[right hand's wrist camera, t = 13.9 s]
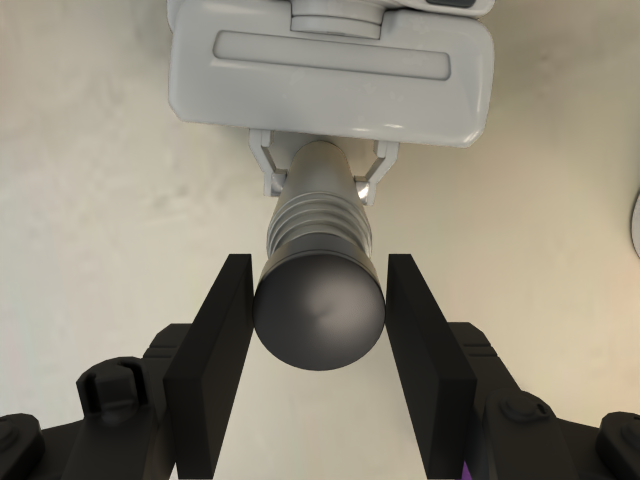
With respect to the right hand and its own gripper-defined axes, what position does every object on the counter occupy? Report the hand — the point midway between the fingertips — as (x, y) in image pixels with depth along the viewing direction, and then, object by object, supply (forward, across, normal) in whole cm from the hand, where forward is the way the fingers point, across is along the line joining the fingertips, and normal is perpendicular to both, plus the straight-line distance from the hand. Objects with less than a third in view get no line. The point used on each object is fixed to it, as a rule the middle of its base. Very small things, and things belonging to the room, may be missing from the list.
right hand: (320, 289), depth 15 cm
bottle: (+22, 0, 0) cm, 22 cm away
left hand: (+16, 0, -1) cm, 16 cm away
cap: (-1, 0, 0) cm, 1 cm away
